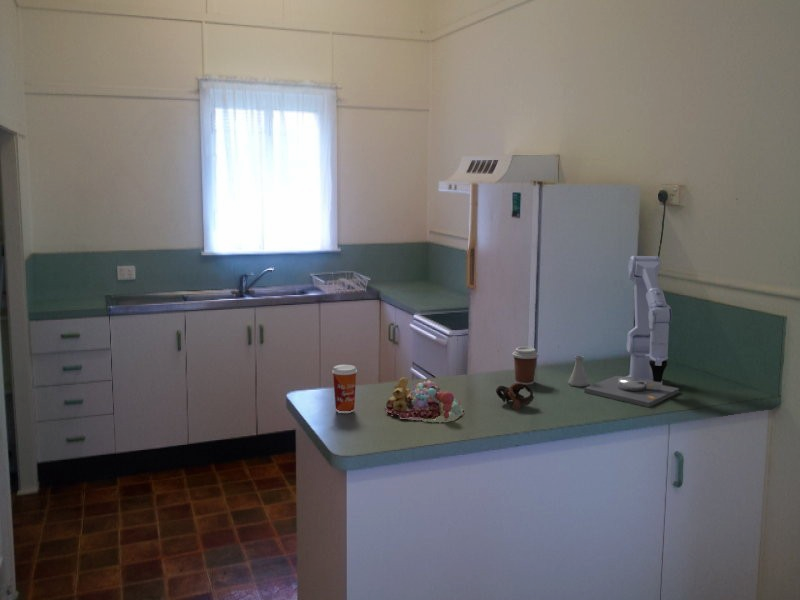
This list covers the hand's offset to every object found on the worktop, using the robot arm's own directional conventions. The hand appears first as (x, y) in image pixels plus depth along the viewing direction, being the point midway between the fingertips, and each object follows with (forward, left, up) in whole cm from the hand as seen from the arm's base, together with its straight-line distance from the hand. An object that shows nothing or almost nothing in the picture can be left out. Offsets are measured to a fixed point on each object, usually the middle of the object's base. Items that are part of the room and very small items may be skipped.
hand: (657, 382), depth 254 cm
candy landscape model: (+67, -44, -5) cm, 80 cm away
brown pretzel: (+43, -27, -4) cm, 51 cm away
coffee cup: (+19, -40, -4) cm, 44 cm away
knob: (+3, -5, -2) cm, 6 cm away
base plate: (+4, -7, -4) cm, 9 cm away
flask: (+8, -25, -4) cm, 26 cm away
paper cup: (+85, -61, -4) cm, 105 cm away
